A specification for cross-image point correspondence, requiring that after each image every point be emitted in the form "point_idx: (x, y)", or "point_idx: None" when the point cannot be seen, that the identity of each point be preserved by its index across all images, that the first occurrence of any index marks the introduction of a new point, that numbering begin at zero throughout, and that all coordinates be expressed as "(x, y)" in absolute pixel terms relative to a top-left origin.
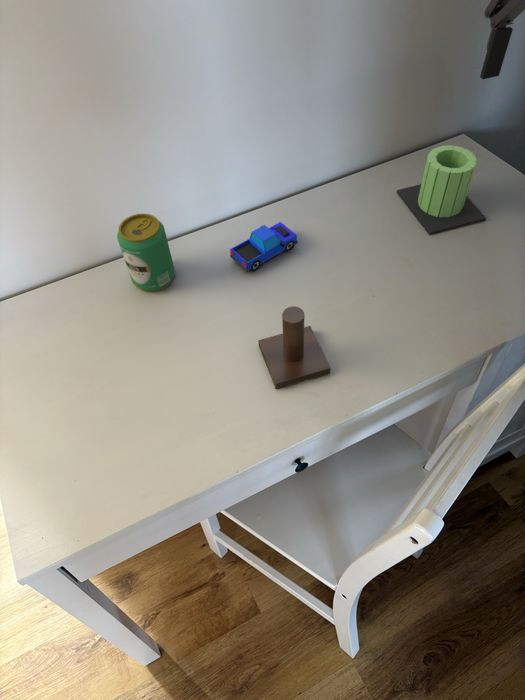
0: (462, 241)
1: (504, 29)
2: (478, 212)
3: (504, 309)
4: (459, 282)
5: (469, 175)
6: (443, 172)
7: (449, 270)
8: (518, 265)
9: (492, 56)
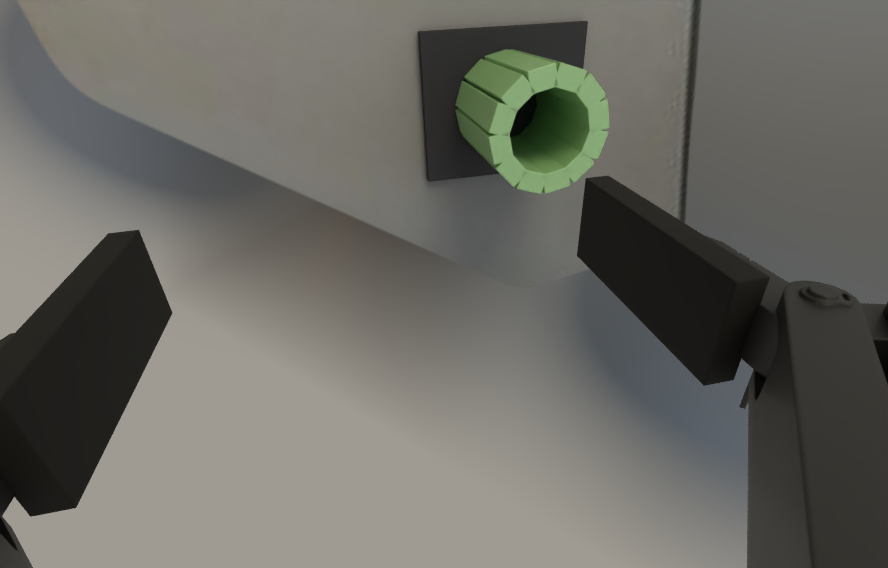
0: (377, 101)
1: (728, 342)
2: (449, 173)
3: (144, 90)
4: (243, 27)
5: (487, 156)
6: (510, 84)
7: (288, 22)
8: (280, 182)
9: (638, 238)
